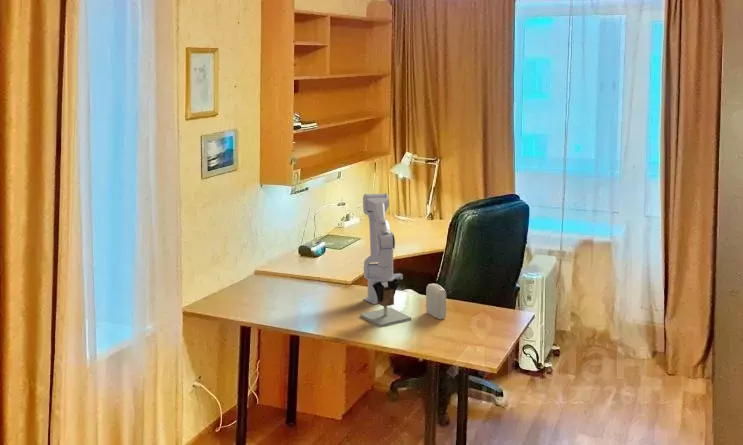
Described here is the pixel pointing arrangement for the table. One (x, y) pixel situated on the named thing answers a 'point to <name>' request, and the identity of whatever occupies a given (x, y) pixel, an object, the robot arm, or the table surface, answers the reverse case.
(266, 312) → the table surface
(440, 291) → the photo printer
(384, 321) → the pin base
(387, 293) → the hollow wooden block
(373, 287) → the robot arm
